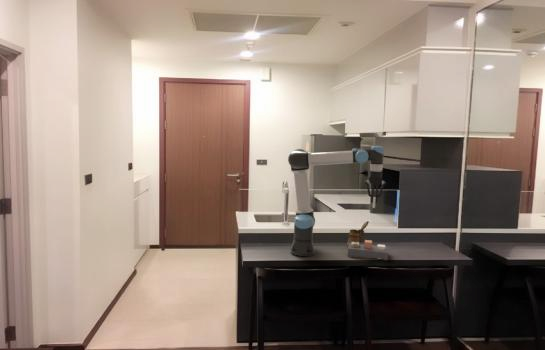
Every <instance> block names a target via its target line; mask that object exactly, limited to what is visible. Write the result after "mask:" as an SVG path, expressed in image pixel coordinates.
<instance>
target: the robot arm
mask: <svg viewBox="0 0 545 350" xmlns="http://www.w3.org/2000/svg"><path fill="white" fill-rule="evenodd" d="M384 149H385V148H384V147H383V146H382V145H372V146H371V148H359V147H358V148H352V149H351V150H342V151H341V150H340V151H339V150H338V151H327V152H324V151H323V152H311V151H306V150H304V149H302V148H298V149H294V150H293V151H292V152H290V153H289V155H288V158H287V160H288V161H287V162H288V164H289V165H290V170H291V171H290V172H292V173H293V176H294V177H293V178H294V186H295V187H294V188H295V195H296V206H297V209H296V211H295V217H294V220H293V223H294V225H293V226H294V227H293V241H292V244H291V247H290V254H291V253H292V254H291V255H293V254H294V255H293V256H296V255H298V256H297V257H301V256H308V257H312V256H314V255H315V252H316V251H315V247H314V242H313V236H314V235H313V234H314V231H313V230H314V227H315V224H316V218H315V213H314V209H313V208H312V207H311V197H310V189H309V180H308V171H309V170H310V168H311V167H312V166H325V165H326V166H327V165H341V164H343V165H344V164H365V163H366V162H370V169H369V170H370V171H369V177H368V179H367V180H365V181H364V184H365V185H366V188H367V194H368V197H370V198H371V199H370V202H371V203H372V209H375V208H376V204H377V203H378V198H381V196H382V194H383V193H382V192H383V190H384V187H385V185H386V184H387V182H385V180H383V170H384V169H383V168H384V167H383V165H384V156H385V155H384V154H385V153H384ZM369 183H370V184H371V189H370V185H369ZM380 185H381V187H380V189H379V186H380ZM374 192H375V196H374Z"/></svg>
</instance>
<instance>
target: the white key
mask: <svg viewBox="0 0 545 350" xmlns="http://www.w3.org/2000/svg"><path fill="white" fill-rule="evenodd" d="M376 246H377V250H385V246H386V244H380V243H379V244H377V245H376Z"/></svg>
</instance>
